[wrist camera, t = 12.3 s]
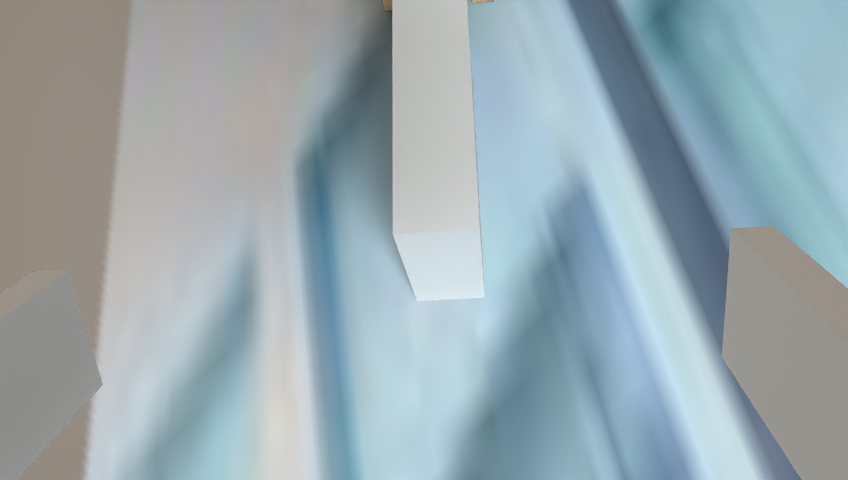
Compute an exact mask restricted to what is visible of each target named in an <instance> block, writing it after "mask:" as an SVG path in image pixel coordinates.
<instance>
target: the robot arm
mask: <svg viewBox="0 0 848 480" xmlns="http://www.w3.org/2000/svg"><path fill="white" fill-rule="evenodd" d="M722 358H723V359H724V361H725V362H726V364H727V365H728V367H729V368H730V370H731V372H732V373H733V375H734V376H735V378H736V379H737V381H738V382H739V384H740V385H741V387H742V389H743V390H744V392H745V393H746V395H747V396H748V398H749V399H750V401H751V402H752V404H753V405H754V407H755V409H756V410H757V412H758V413H759V415H760V416H761V418H762V419H763V421H764V422H765V424H766V426H767V427H768V429H769V430H770V432H771V433H772V435H773V436H774V438H775V439H776V441H777V442H778V444H779V446H780V447H781V449H782V450H783V452H784V453H785V455H786V456H787V458H788V459H789V461H790V463H791V464H792V466H793V467H794V469H795V470H796V472H797V473H798V475H799V476H800V478H801V480H848V288H846V287H845V286H844V285H843V284H842V283H841V282H839V281H838V280H837V279H836V278H835V277H833V276H832V275H831V274H830V273H829V272H827V271H826V270H825V269H824V268H823V267H822V266H820V265H819V264H818V263H817V262H816V261H814V260H813V259H812V258H811V257H810V256H809V255H807V254H806V253H805V252H804V251H803V250H801V249H800V248H799V247H798V246H797V245H795V244H794V243H793V242H792V241H791V240H790V239H788V238H787V237H786V236H785V235H784V234H782V233H781V232H780V231H779V230H778V229H777V228H775V227H774V226H768V227H752V228H736V229H731V238H730V252H729V266H728V280H727V294H726V308H725V322H724V336H723V350H722ZM102 385H103V384H102V380H101V377H100V374H99V370H98V367H97V364H96V360H95V357H94V354H93V350H92V347H91V344H90V341H89V337H88V334H87V330H86V327H85V324H84V321H83V317H82V314H81V311H80V308H79V304H78V301H77V297H76V294H75V291H74V287H73V284H72V281H71V277H70V274H69V271H68V270H51V271H35V272H32V273H30V274H29V275H27V276H26V277H24V278H23V279H22V280H20V281H19V282H17V283H16V284H15V285H13V286H11V287H10V288H8V289H7V290H5V291H4V292H2V293H1V294H0V480H18V479H19V478H20V477H21V475H22V474H23V473H24V472H25V471H26V470H27V469H28V468H29V466H30V465H31V464H32V463H33V462H34V461H35V460H36V459H37V457H38V456H39V455H40V454H41V453H42V452H43V451H44V450H45V449H46V447H47V446H48V445H49V444H50V443H51V442H52V441H53V440H54V438H55V437H56V436H57V435H58V434H59V433H60V432H61V431H62V430H63V428H64V427H65V426H66V425H67V424H68V423H69V422H70V421H71V420H72V418H73V417H74V416H75V415H76V414H77V413H78V412H79V411H80V409H81V408H82V407H83V406H84V405H85V404H86V403H87V402H88V401H89V399H90V398H91V397H92V396H93V395H94V394H95V393H96V392H97V390H98V389H99V388H100V387H101V386H102Z"/></svg>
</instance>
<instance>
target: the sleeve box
mask: <svg viewBox="0 0 848 480" xmlns="http://www.w3.org/2000/svg"><path fill="white" fill-rule="evenodd" d="M382 1H383V5H384V10H385V11H392V0H382ZM491 1H494V0H472V3H480V2H491Z"/></svg>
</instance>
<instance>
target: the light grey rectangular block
mask: <svg viewBox="0 0 848 480" xmlns="http://www.w3.org/2000/svg"><path fill="white" fill-rule="evenodd" d="M392 71H393V236H394V239H395V242H396V245H397V247H398V250H399V253H400V256H401V258H402V261H403V264H404V267H405V269H406V272H407V275H408V278H409V280H410V283H411V286H412V289H413V292H414V294H415V297H416V300H417V301H426V300H446V299H466V298H485V292H484V275H483V257H482V240H481V222H480V204H479V187H478V169H477V152H476V134H475V116H474V99H473V81H472V64H471V46H470V31H469V15H468V0H392Z"/></svg>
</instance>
